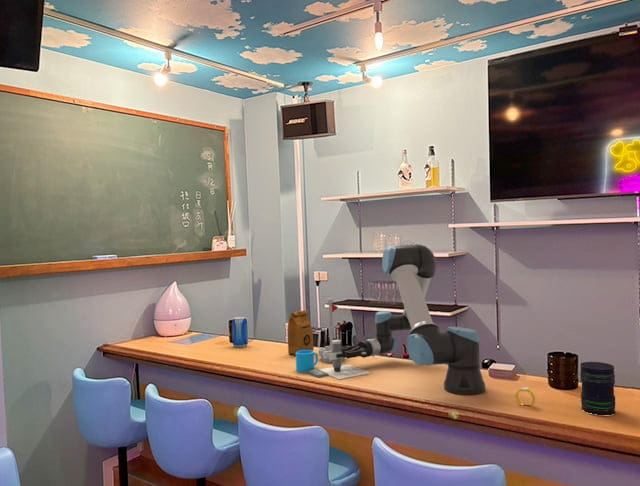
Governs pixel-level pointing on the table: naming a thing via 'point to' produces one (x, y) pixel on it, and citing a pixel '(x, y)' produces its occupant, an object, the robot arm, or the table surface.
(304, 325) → the coffee package
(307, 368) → the mug
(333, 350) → the marker
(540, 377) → the table surface
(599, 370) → the storage jar
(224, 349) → the table surface
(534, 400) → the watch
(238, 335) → the beer can
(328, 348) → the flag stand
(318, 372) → the dark grey flat block
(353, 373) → the paper
